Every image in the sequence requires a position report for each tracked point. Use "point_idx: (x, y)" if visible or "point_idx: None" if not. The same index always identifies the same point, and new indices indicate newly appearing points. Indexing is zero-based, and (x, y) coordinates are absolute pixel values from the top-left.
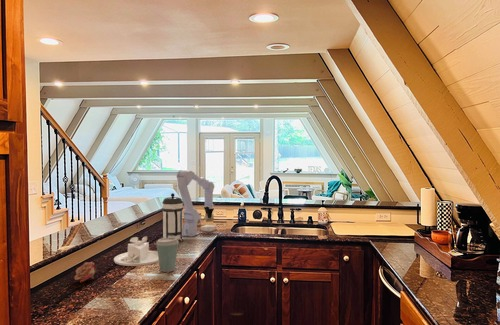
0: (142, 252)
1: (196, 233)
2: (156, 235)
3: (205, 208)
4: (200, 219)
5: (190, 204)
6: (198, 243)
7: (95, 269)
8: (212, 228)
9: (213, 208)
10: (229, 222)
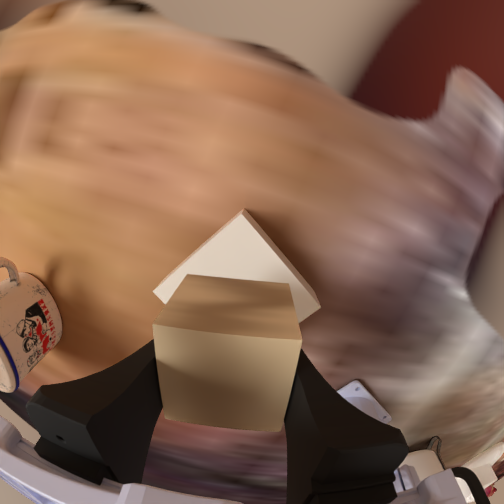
0: (489, 475)
1: (368, 401)
2: (267, 496)
3: (136, 480)
4: (17, 301)
5: None
6: (492, 385)
7: (490, 487)
8: (294, 271)
9: (363, 452)
10: (37, 48)
